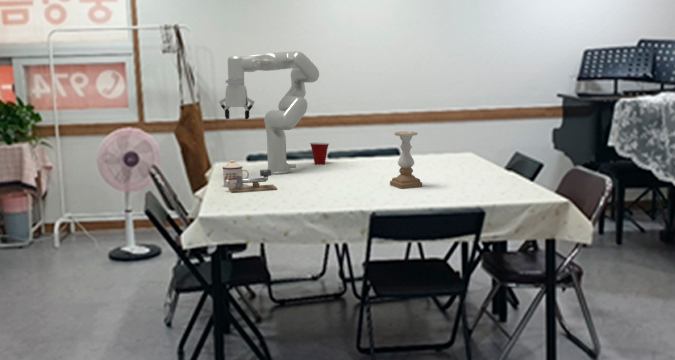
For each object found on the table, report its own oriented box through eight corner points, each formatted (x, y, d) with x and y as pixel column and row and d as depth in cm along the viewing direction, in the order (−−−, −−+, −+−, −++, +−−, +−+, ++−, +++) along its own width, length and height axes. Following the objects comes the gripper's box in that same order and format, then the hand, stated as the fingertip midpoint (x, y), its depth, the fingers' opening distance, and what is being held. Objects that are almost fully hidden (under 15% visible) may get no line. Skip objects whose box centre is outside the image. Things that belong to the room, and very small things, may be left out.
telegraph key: (272, 186, 308) (272, 170, 306) (277, 189, 298) (276, 174, 297) (228, 189, 302) (227, 173, 301) (231, 193, 293) (231, 177, 291)
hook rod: (270, 180, 304) (270, 169, 303) (272, 182, 300) (272, 170, 299) (224, 183, 299) (223, 172, 298) (225, 185, 294) (225, 173, 293)
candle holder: (389, 185, 305) (389, 132, 301) (410, 183, 310) (410, 130, 306) (401, 188, 295) (401, 134, 291) (422, 186, 300) (423, 132, 296)
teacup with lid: (221, 187, 306) (220, 162, 304) (224, 184, 315) (223, 159, 313) (248, 187, 307) (247, 161, 305) (250, 183, 315) (249, 158, 314)
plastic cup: (333, 163, 375) (333, 141, 373) (322, 166, 366) (322, 143, 364) (317, 162, 380) (316, 140, 378) (306, 164, 371) (305, 142, 369)
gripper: (216, 82, 320) (217, 119, 322) (251, 82, 316) (251, 119, 319) (221, 82, 327) (223, 118, 329) (256, 82, 323) (257, 118, 326)
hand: (237, 118), depth 324 cm, fingers open, 9 cm apart
